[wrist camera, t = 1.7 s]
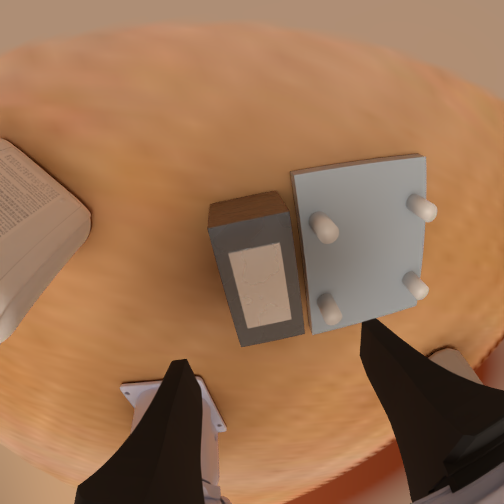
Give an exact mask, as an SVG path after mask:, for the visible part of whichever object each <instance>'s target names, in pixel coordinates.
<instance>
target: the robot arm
mask: <svg viewBox="0 0 504 504" xmlns="http://www.w3.org/2000/svg"><path fill="white" fill-rule="evenodd" d="M360 357H361V360H362V363H363V366H364V369H365V371H366V374H367V376H368V378H369V380H370V382H371V384H372V386H373V388H374V390H375V392H376V394H377V396H378V398H379V400H380V402H381V404H382V406H383V408H384V410H385V412H386V414H387V416H388V418H389V421H390V423H391V426H392V429H393V431H394V434H395V437H396V440H397V443H398V446H399V449H400V453H401V456H402V460H403V464H404V468H405V472H406V475H407V480H408V485H409V490H410V496H411V500H412V503H410V504H504V391H503V390H499V389H495V388H491V387H488V386H485V385H482V384H479V383H476V382H473V381H471V380H468V379H466V378H464V377H462V376H459V375H457V374H455V373H453V372H451V371H449V370H447V369H445V368H443V367H442V366H440V365H438V364H436V363H435V362H433V361H432V360H430V359H428V358H427V357H425V356H424V355H422V354H421V353H420V352H418V351H417V350H415V349H414V348H413V347H411V346H410V345H409V344H407V343H406V342H405V341H403V340H402V339H401V338H400V337H398V336H397V335H396V334H395V333H393V332H392V331H391V330H390V329H388V328H387V327H386V326H385V325H384V324H382V323H381V322H380V321H379V320H377V319H376V318H374V319H370V320H367V321H363V322H362V330H361V345H360ZM120 390H121V391H122V393H123V394H124V395H125V397H126V398H127V399H128V401H129V402H130V403H131V405H132V406H133V407H134V408H135V410H134V416H133V421H132V427H131V433H130V436H129V437H128V438H127V440H126V441H125V442H124V443H123V445H122V446H121V447H120V448H119V449H118V450H117V452H116V453H115V454H114V455H113V456H112V457H111V458H110V459H109V460H108V461H107V462H106V463H105V464H104V465H103V466H102V467H101V468H100V469H99V470H98V471H96V472H95V473H94V474H93V475H92V476H90V477H89V478H88V479H86V480H85V481H84V482H83V483H81V484H80V485H78V488H77V492H76V497H75V503H74V504H232V503H231V502H230V500H229V499H228V498H226V497H224V496H221V493H220V486H217V484H218V481H219V453H218V432H225V431H226V430H227V427H226V425H225V423H224V421H223V419H222V417H221V416H220V414H219V412H218V410H217V408H216V406H215V404H214V402H213V400H212V398H211V396H210V394H209V392H208V390H207V388H206V386H205V384H204V382H203V380H202V378H200V377H195V375H194V373H193V371H192V369H191V367H190V365H189V363H188V361H187V359H182V360H175V361H172V362H171V364H170V366H169V368H168V370H167V372H166V374H165V376H164V378H163V380H162V381H153V382H142V383H129V384H121V386H120Z"/></svg>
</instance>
